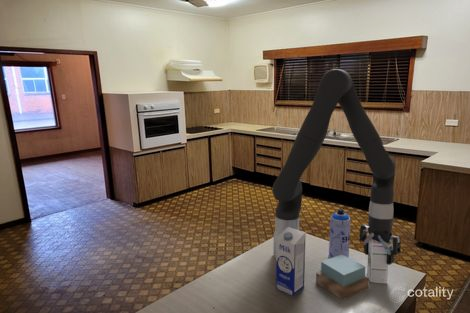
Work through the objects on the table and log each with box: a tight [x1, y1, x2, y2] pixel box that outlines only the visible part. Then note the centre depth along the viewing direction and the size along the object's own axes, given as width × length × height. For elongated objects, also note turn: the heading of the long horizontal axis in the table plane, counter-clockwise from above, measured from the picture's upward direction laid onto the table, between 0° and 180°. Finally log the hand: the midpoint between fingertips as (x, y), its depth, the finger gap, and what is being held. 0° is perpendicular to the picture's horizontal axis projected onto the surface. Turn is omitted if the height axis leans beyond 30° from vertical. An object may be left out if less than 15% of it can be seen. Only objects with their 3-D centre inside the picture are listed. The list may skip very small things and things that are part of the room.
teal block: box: [320, 255, 366, 287], centre depth 112 cm, size 10×10×4 cm
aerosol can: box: [327, 208, 352, 259], centre depth 129 cm, size 8×8×20 cm
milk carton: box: [275, 227, 307, 297], centre depth 109 cm, size 7×7×20 cm
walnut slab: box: [315, 270, 370, 300], centre depth 112 cm, size 12×12×4 cm
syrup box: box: [366, 239, 389, 285], centre depth 114 cm, size 6×6×14 cm
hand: (378, 258), depth 114 cm, fingers open, 8 cm apart
